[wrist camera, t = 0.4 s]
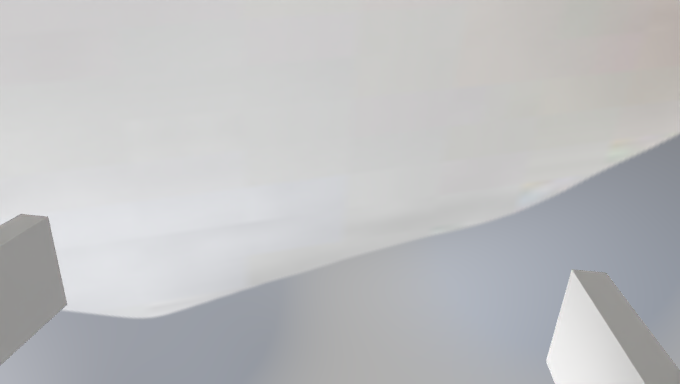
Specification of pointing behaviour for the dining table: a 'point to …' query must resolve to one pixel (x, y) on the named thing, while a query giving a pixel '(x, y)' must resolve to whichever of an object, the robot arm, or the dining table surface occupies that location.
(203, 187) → the dining table surface
